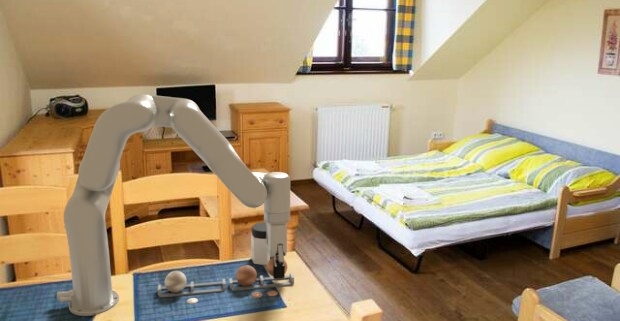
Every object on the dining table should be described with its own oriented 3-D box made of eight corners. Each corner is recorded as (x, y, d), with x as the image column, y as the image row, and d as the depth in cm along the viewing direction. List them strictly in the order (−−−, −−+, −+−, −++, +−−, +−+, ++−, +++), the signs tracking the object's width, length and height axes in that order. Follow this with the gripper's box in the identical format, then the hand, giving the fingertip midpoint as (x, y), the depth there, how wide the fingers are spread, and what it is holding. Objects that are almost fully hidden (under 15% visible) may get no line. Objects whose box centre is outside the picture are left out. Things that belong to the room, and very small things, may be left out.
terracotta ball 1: (237, 290, 146) (236, 271, 144) (235, 280, 151) (235, 262, 150) (258, 288, 147) (257, 269, 146) (255, 279, 153) (255, 260, 151)
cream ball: (164, 297, 141) (163, 277, 140) (165, 287, 147) (164, 268, 146) (186, 295, 143) (185, 276, 141) (187, 285, 148) (186, 266, 147)
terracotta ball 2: (268, 281, 147) (268, 262, 146) (265, 272, 153) (265, 254, 151) (288, 280, 149) (289, 261, 147) (285, 270, 154) (285, 252, 153)
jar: (249, 256, 169) (249, 222, 166) (273, 253, 171) (273, 220, 168) (254, 268, 161) (254, 233, 158) (279, 265, 163) (280, 230, 160)
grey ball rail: (157, 299, 141) (157, 291, 141) (158, 290, 146) (158, 282, 146) (294, 286, 150) (294, 279, 149) (291, 278, 155) (291, 271, 154)
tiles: (175, 308, 137) (175, 306, 137) (175, 300, 141) (175, 298, 141) (281, 297, 144) (281, 295, 143) (279, 290, 147) (279, 289, 147)
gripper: (260, 206, 153) (260, 260, 158) (268, 227, 137) (268, 288, 141) (284, 204, 155) (284, 258, 159) (295, 225, 139) (295, 285, 143)
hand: (277, 272), depth 150 cm, fingers closed on terracotta ball 2, 5 cm apart
